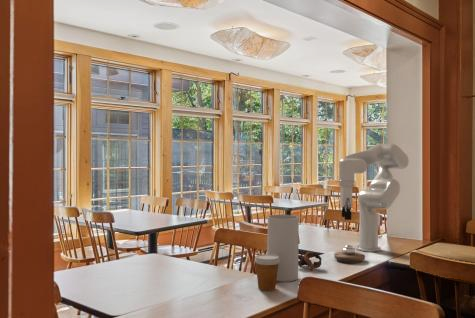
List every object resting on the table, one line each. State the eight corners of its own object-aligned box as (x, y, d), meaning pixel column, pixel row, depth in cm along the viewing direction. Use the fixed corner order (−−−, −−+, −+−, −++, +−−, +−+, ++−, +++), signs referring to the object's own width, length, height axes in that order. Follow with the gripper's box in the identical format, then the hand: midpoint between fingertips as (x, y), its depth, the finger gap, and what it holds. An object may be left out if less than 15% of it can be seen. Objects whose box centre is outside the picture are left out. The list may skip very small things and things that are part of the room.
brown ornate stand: (316, 266, 209) (322, 252, 206) (317, 280, 201) (324, 266, 197) (291, 259, 209) (296, 245, 205) (291, 273, 201) (297, 259, 197)
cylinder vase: (296, 283, 180) (297, 219, 180) (265, 281, 182) (265, 218, 182) (299, 275, 192) (299, 215, 192) (269, 273, 195) (269, 214, 194)
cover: (341, 252, 225) (341, 244, 225) (353, 252, 225) (354, 244, 225) (343, 254, 219) (343, 246, 219) (356, 255, 219) (356, 247, 219)
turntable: (332, 256, 227) (332, 250, 227) (361, 257, 226) (361, 251, 226) (336, 263, 213) (336, 257, 213) (367, 264, 212) (367, 258, 212)
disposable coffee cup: (272, 293, 166) (272, 260, 166) (249, 289, 171) (249, 257, 171) (283, 287, 174) (284, 255, 174) (261, 283, 179) (262, 252, 179)
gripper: (336, 182, 238) (336, 215, 239) (341, 185, 221) (341, 220, 221) (351, 182, 238) (351, 215, 238) (357, 185, 220) (357, 221, 221)
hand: (346, 218), depth 230 cm, fingers open, 9 cm apart
